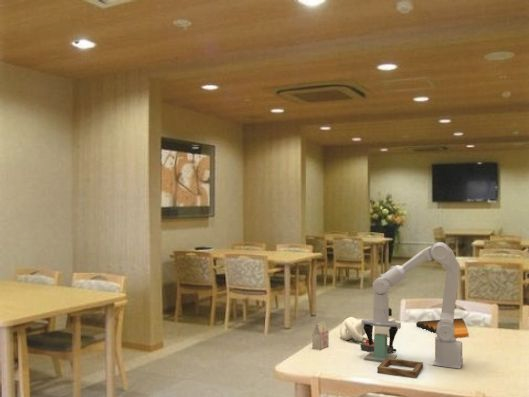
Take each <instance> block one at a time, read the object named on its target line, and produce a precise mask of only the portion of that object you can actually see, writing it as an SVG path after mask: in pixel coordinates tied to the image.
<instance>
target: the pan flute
mask: <svg viewBox="0 0 529 397" xmlns="http://www.w3.org/2000/svg"><path fill="white" fill-rule="evenodd" d="M439 321H440V319H435V320H434V319H433V320H432V319H431V320H422V321H421V320H420V321H416V323H415V325H416V328H419V329H421V328H422V330H424V329H426V330H425V331H427V330H428V331H427V332H431V333H432V332H433V333H432V334H435V333H436V329H437V323H438V322H439ZM465 322H466V321H465V320H464V318H462V317H461V318H454V320H453V324H454V327H455V329H454V331H455V335H454V337H455V338H456V339H457V337H459V338H467V337H466V336H468V337H469V332H468V328H467V325H466V323H465Z"/></svg>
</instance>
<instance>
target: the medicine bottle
mask: <svg viewBox="0 0 529 397" xmlns="http://www.w3.org/2000/svg"><path fill="white" fill-rule="evenodd" d="M392 311H393V310H392V308H391V307H389V321H392V322H396V318H394V317H392V316H393V314H392V313H393V312H392ZM373 329H374V330H373V331H374V332H373V333H374V334H373V336H374V335H375V334H377V333H379V334H387V338H390V337H389V329H390V327H380V326H373Z"/></svg>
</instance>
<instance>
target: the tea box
mask: <svg viewBox="0 0 529 397" xmlns="http://www.w3.org/2000/svg"><path fill="white" fill-rule="evenodd" d="M329 333H330V332H329V330H328V327H327V324H326V321H322V322H319V323H316V324H315V328H314V330H313V332H312V336H311V338H312V344H311V345H312V346H311V348H312V350H317V351H322V350H324V349H327V348H330V347H329V346H330V345H329V344H330V343H329V341H330V339H329Z"/></svg>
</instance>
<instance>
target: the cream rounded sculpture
mask: <svg viewBox="0 0 529 397" xmlns="http://www.w3.org/2000/svg"><path fill="white" fill-rule="evenodd" d="M361 320H362V319H359V320H358V319H357V318H355V317H352V316H350V317H349V316H348V318H345V319H344V320H343V322H342V323H341V325H340V328H339V335H340V337H341V338H342V339H343V340H345V341H348V340H349V341H350V340H351V339H352V338H353V340H354V341H356V340H359V341H363V339H364V338H363V337H364V336H365V335H366V332H365V330H364V328H363V327H364V325H361Z"/></svg>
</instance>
